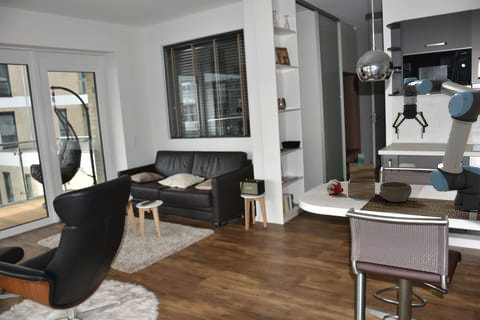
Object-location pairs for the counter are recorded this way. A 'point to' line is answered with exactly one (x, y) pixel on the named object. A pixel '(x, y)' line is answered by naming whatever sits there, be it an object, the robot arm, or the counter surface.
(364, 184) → the carton
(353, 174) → the flap
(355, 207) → the counter surface
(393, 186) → the bowl
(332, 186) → the red and white lump
